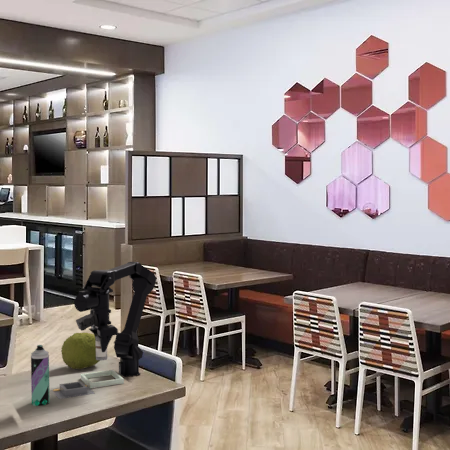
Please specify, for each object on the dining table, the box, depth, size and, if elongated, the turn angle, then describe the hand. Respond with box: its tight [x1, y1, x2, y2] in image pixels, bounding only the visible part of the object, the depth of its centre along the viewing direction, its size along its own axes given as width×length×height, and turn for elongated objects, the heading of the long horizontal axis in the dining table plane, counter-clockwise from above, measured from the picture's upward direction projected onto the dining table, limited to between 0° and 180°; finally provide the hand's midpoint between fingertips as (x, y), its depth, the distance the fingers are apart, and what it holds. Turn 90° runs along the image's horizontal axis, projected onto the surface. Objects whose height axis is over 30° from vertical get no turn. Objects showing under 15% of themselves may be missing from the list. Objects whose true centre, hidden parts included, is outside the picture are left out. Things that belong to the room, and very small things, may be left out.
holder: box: [51, 380, 96, 400], centre depth 218 cm, size 12×10×4 cm
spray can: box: [30, 344, 51, 407], centre depth 207 cm, size 6×6×20 cm
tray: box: [80, 369, 125, 389], centre depth 230 cm, size 12×12×3 cm
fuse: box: [95, 336, 108, 362], centre depth 229 cm, size 4×4×8 cm
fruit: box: [60, 332, 100, 370], centre depth 251 cm, size 16×14×15 cm
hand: (101, 350), depth 229 cm, fingers closed on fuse, 4 cm apart
